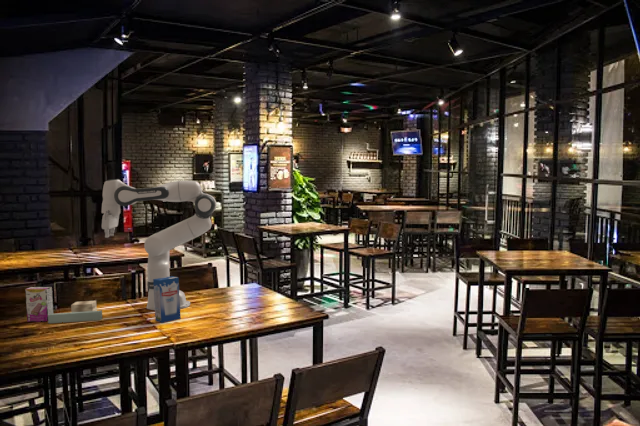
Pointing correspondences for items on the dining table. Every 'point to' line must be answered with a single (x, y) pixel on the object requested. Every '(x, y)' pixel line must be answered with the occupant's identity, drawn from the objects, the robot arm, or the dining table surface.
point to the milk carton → (166, 299)
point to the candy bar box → (39, 303)
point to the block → (84, 306)
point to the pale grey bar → (75, 316)
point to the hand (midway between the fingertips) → (109, 236)
